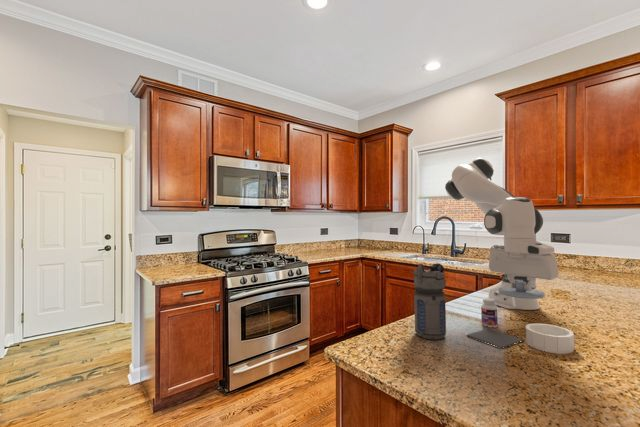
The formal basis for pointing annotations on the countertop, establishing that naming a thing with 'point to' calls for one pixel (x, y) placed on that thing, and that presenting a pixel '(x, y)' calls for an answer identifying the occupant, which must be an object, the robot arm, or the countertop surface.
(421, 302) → the beverage bottle
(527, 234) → the robot arm
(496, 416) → the countertop surface
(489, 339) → the mat
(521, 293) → the lid
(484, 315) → the pill bottle
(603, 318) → the countertop surface
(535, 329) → the bowl
